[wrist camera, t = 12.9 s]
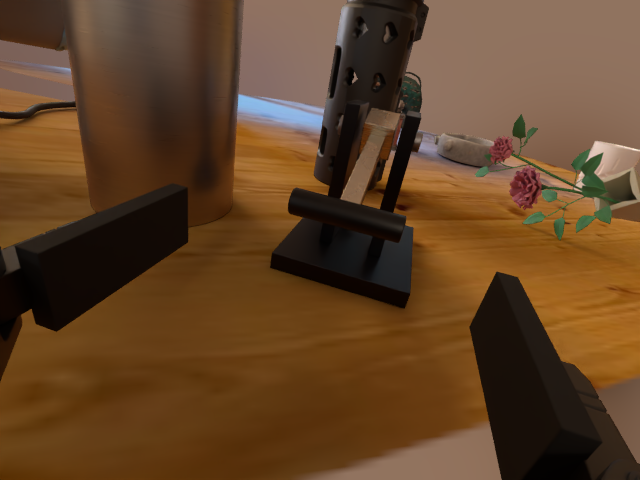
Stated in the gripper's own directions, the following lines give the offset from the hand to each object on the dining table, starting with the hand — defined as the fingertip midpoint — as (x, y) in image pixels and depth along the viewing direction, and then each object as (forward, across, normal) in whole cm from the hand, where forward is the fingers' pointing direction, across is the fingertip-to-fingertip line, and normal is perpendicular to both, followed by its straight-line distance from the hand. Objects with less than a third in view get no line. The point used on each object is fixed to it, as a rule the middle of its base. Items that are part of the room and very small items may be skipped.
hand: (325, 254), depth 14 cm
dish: (+74, +16, -7) cm, 76 cm away
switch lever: (+10, 0, +1) cm, 10 cm away
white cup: (+66, +42, -7) cm, 79 cm away
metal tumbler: (+14, -18, -7) cm, 24 cm away
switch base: (+14, 0, -7) cm, 15 cm away
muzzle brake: (+34, -4, -7) cm, 35 cm away
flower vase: (+35, +28, -7) cm, 46 cm away
